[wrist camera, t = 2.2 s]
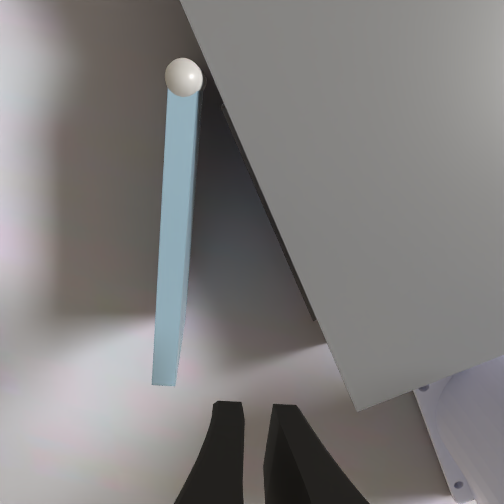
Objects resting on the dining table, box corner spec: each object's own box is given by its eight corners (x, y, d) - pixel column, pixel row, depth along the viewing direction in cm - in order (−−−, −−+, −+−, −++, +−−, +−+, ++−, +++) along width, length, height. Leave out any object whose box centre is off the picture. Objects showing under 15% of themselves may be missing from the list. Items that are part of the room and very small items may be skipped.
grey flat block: (527, 262, 21) (614, 311, 17) (324, 344, 22) (353, 413, 17) (404, -277, 15) (491, -451, 10) (118, -132, 15) (74, -229, 11)
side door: (187, 318, 21) (178, 386, 16) (165, 316, 20) (148, 384, 16) (207, 68, 17) (203, 60, 12) (180, 64, 17) (165, 55, 12)
